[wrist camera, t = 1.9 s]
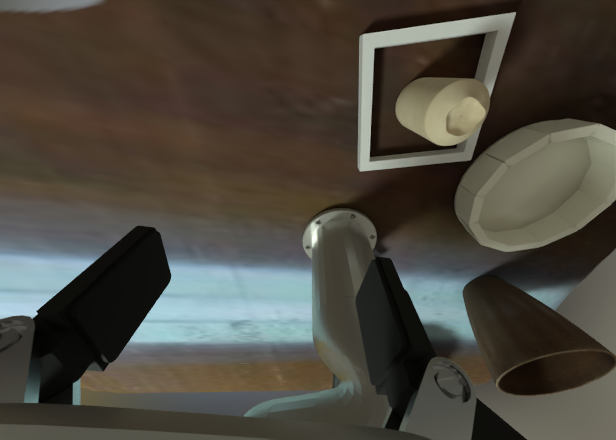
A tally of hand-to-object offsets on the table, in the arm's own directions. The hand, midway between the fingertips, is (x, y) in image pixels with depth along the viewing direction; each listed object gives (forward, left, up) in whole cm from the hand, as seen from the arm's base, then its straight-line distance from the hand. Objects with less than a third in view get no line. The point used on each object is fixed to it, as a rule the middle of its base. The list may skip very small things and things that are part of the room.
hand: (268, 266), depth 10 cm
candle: (-7, -14, -23) cm, 28 cm away
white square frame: (-7, -14, -23) cm, 28 cm away
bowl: (-27, -20, -23) cm, 41 cm away
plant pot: (-47, -8, -23) cm, 53 cm away
